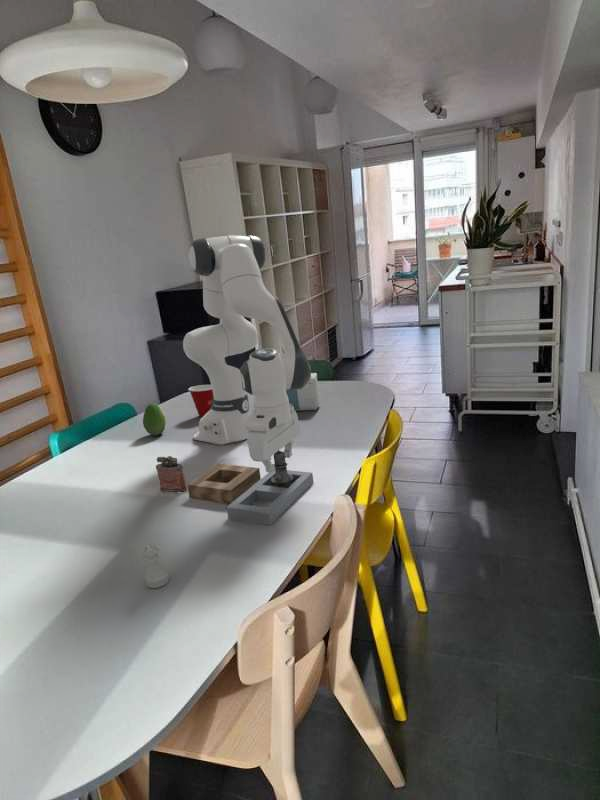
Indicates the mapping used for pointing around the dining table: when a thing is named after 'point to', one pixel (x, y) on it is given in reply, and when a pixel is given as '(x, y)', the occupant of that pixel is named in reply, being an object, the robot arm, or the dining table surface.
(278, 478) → the grey chess piece
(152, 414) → the avocado
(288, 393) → the teal banded white box
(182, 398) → the dining table surface
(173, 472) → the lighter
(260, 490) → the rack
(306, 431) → the dining table surface
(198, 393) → the plastic cup
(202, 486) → the socket block
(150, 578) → the rook chess piece
